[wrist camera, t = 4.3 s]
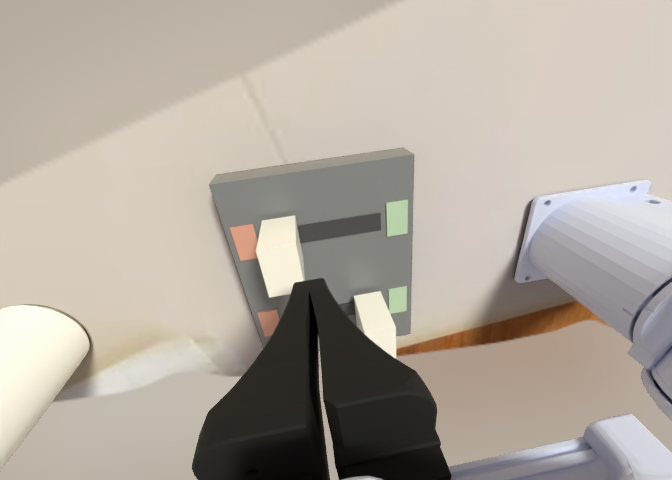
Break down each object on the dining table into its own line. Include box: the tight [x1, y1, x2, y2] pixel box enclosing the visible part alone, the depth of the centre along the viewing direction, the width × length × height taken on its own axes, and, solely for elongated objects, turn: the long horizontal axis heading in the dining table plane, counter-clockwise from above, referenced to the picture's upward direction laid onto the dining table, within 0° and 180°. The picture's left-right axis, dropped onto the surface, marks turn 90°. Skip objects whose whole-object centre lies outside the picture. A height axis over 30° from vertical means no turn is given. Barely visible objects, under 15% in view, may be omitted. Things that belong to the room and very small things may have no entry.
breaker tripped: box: [256, 215, 305, 298], centre depth 17 cm, size 2×3×4 cm, turn 7°
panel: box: [209, 148, 414, 351], centre depth 21 cm, size 12×15×2 cm
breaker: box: [354, 291, 396, 359], centre depth 21 cm, size 2×3×4 cm, turn 6°
